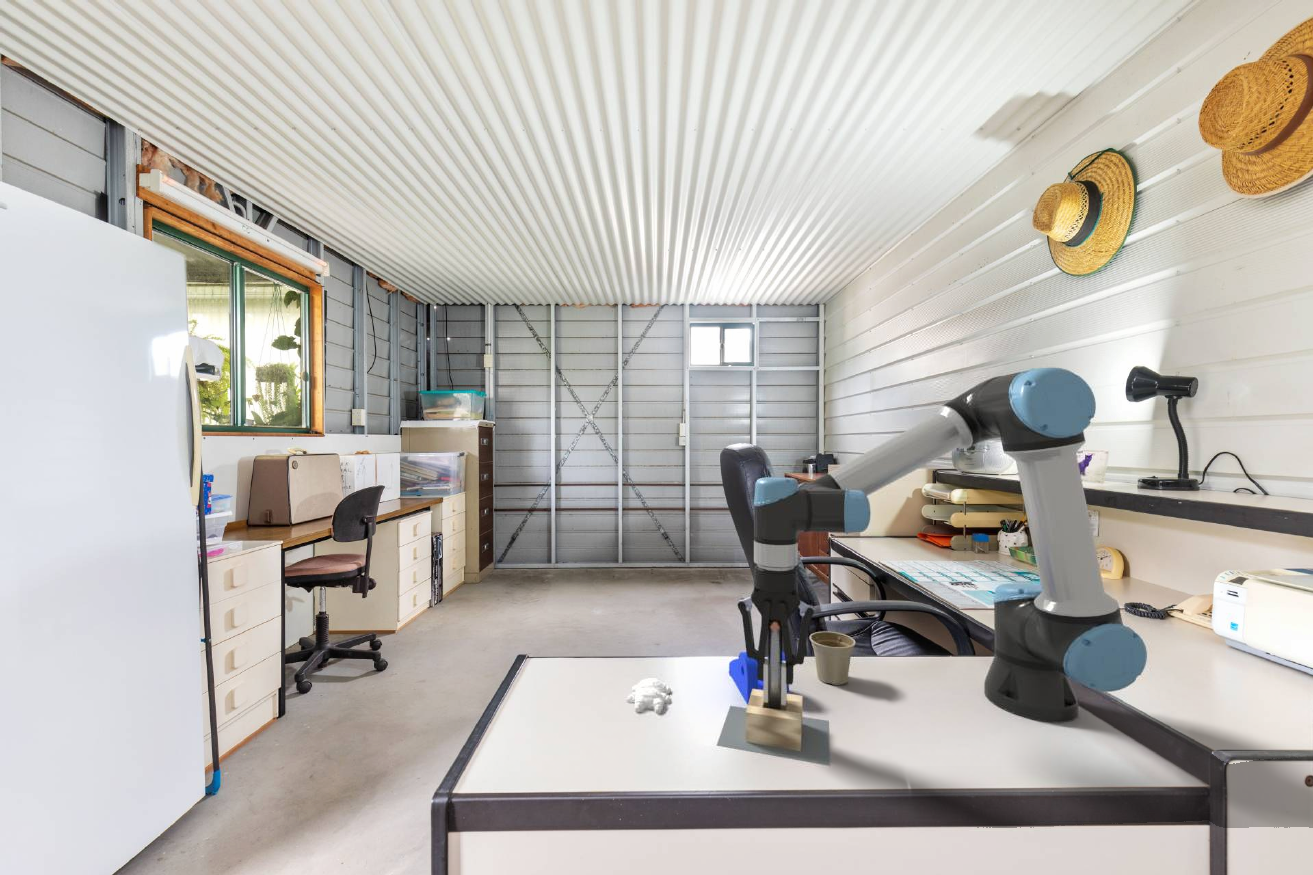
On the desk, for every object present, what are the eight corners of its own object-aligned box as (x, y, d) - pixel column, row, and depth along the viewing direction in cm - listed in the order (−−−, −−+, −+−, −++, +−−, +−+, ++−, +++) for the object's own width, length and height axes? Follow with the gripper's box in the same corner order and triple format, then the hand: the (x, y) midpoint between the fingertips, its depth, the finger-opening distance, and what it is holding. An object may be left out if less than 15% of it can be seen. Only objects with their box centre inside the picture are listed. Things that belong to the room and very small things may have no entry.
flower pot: (840, 693, 108) (840, 651, 108) (800, 678, 115) (801, 638, 115) (863, 680, 114) (863, 639, 114) (824, 666, 121) (824, 628, 121)
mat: (828, 722, 97) (828, 720, 97) (829, 766, 83) (829, 765, 83) (730, 707, 102) (730, 705, 102) (716, 746, 89) (716, 745, 89)
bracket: (788, 705, 103) (789, 658, 103) (747, 707, 102) (747, 660, 103) (760, 666, 121) (760, 627, 121) (725, 667, 120) (725, 628, 120)
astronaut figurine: (621, 713, 100) (621, 696, 100) (635, 684, 112) (635, 670, 112) (667, 717, 99) (667, 700, 99) (676, 688, 111) (676, 673, 111)
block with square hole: (802, 723, 96) (802, 695, 96) (800, 751, 87) (800, 720, 87) (752, 715, 98) (752, 688, 98) (745, 741, 90) (745, 712, 90)
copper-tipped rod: (783, 714, 94) (783, 616, 94) (782, 721, 91) (782, 620, 91) (768, 712, 94) (768, 614, 95) (766, 719, 92) (767, 619, 92)
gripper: (821, 564, 94) (821, 696, 94) (735, 558, 99) (734, 684, 99) (821, 574, 87) (821, 717, 87) (728, 567, 92) (727, 703, 91)
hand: (775, 699), depth 93 cm, fingers closed on copper-tipped rod, 2 cm apart
